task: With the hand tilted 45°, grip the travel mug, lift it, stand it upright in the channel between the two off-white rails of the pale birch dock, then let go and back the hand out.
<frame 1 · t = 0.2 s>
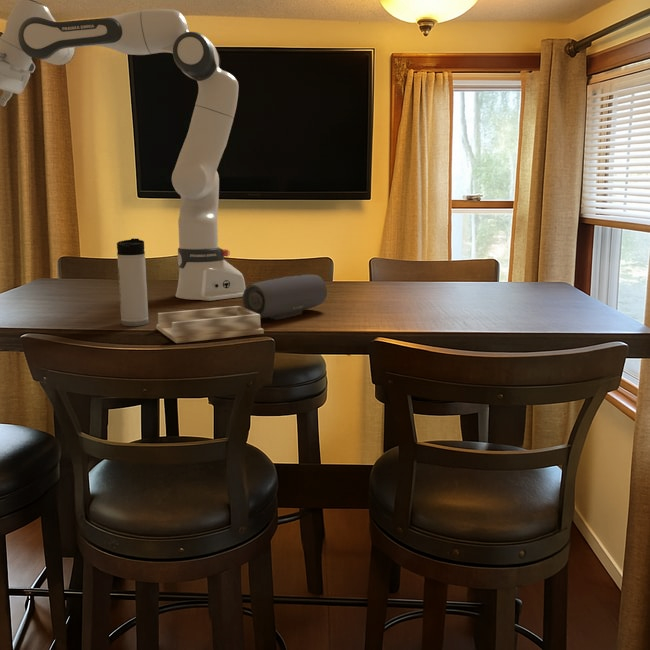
travel mug: (135, 324, 164), on the table
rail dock: (209, 331, 157), on the table
bluetooth speaker: (286, 317, 174), on the table
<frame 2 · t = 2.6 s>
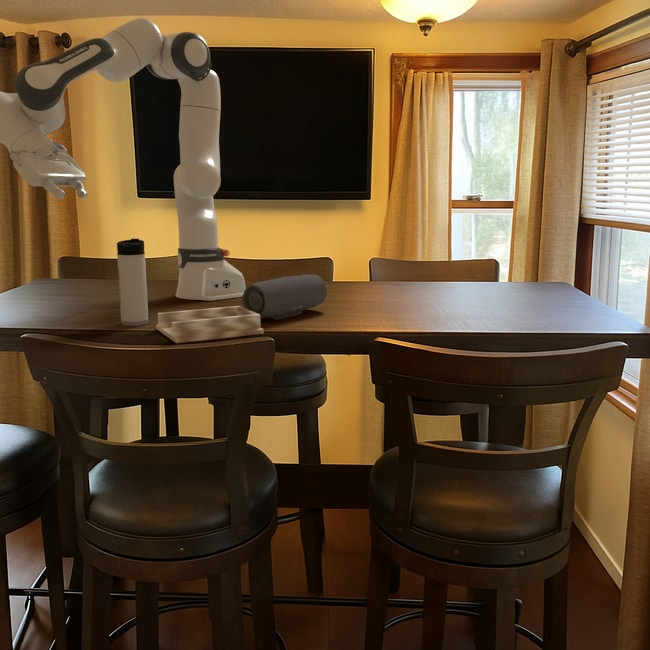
hand: (73, 196, 161), 30 cm above the table, tool tilted 45°, fingers open, 8 cm apart
nothing on the table moved.
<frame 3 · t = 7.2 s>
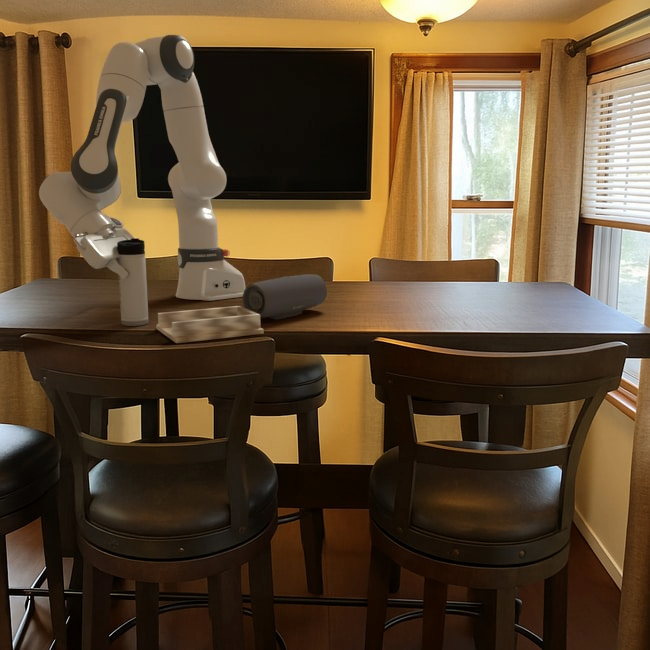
hand: (134, 274, 162), 12 cm above the table, tool tilted 45°, fingers closed on travel mug, 6 cm apart
travel mug: (135, 324, 164), on the table, touching gripper
everything else where it was.
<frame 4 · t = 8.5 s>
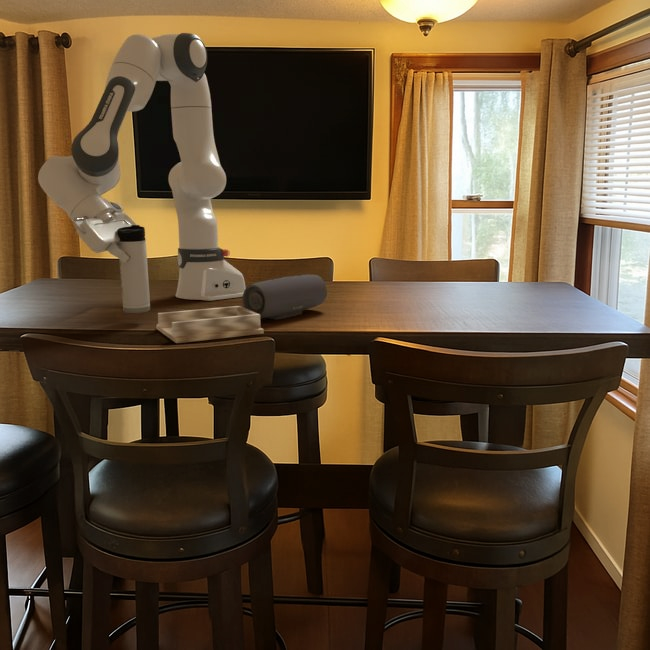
hand: (135, 258, 161), 16 cm above the table, tool tilted 45°, fingers closed on travel mug, 6 cm apart
travel mug: (137, 311, 164), point 3 cm above the table, touching gripper
everything else where it was.
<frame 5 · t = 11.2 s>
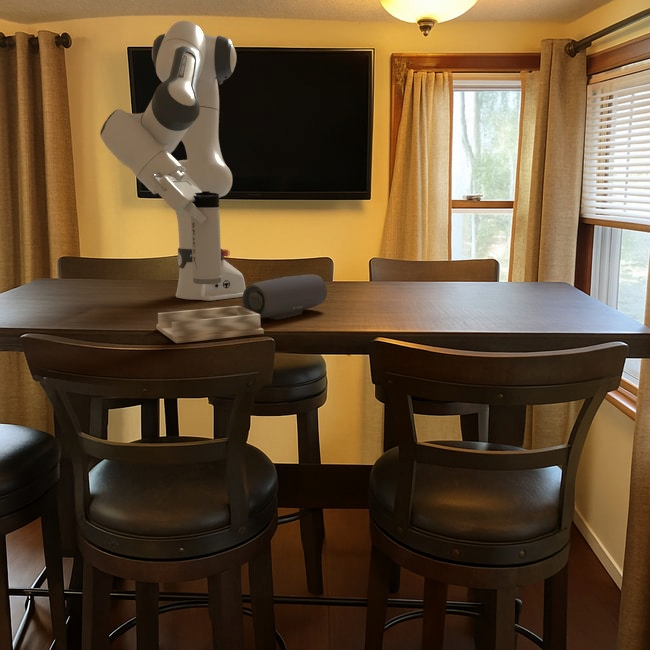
hand: (208, 220, 151), 25 cm above the table, tool tilted 45°, fingers closed on travel mug, 6 cm apart
travel mug: (207, 283, 155), point 11 cm above the table, touching gripper
everything else where it was.
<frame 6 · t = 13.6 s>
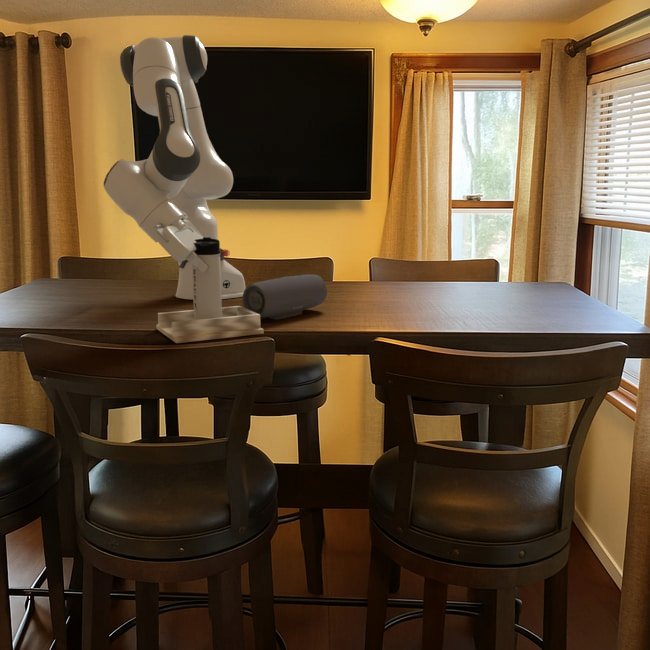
hand: (209, 267, 153), 15 cm above the table, tool tilted 45°, fingers closed on travel mug, 6 cm apart
travel mug: (208, 327, 157), point 1 cm above the table, touching gripper, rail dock
everything else where it was.
when the fingers open (14 cm above the table, at t = 14.1 s): travel mug stays where it is, resting on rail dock.
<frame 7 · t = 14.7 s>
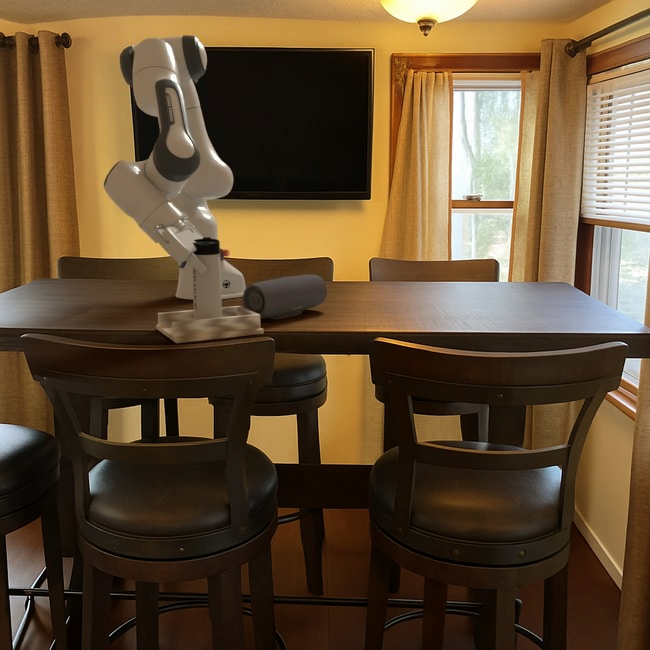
hand: (210, 268, 154), 14 cm above the table, tool tilted 45°, fingers open, 8 cm apart
travel mug: (208, 327, 157), point 1 cm above the table, touching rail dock
everything else where it was.
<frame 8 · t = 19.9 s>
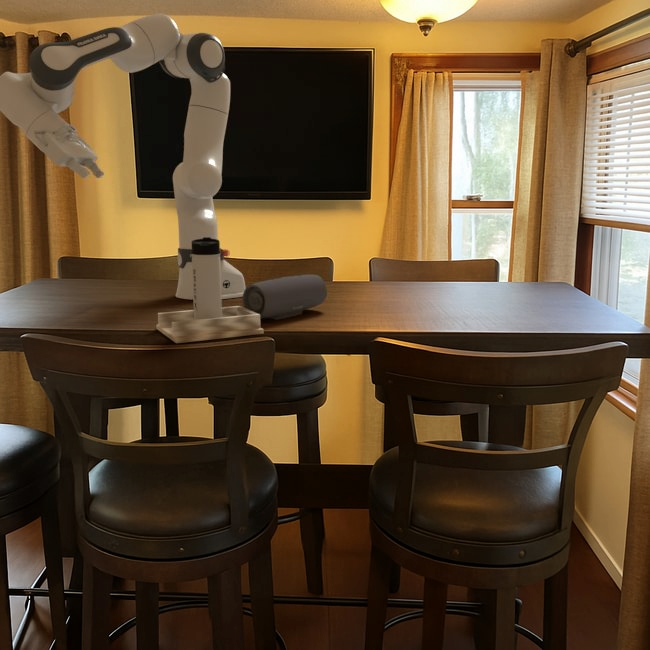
hand: (94, 176, 163), 34 cm above the table, tool tilted 45°, fingers open, 8 cm apart
nothing on the table moved.
at the end: travel mug inside the target area on the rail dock (0.4 cm from its centre), point 0.8 cm above the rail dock's base; travel mug tilted 0°; the gripper is holding nothing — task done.
